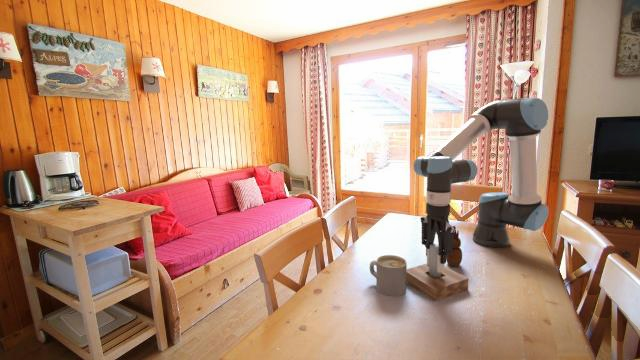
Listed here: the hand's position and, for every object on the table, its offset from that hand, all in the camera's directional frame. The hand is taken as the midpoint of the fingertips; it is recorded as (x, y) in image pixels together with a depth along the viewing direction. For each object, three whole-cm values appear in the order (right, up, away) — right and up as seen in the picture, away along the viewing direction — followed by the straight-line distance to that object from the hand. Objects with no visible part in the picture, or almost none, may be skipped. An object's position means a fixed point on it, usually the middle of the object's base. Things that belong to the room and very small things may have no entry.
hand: (435, 268), depth 108 cm
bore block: (0, -6, +1) cm, 6 cm away
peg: (0, -4, +1) cm, 4 cm away
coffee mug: (-16, -7, +1) cm, 18 cm away
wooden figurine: (+13, -3, +16) cm, 21 cm away
